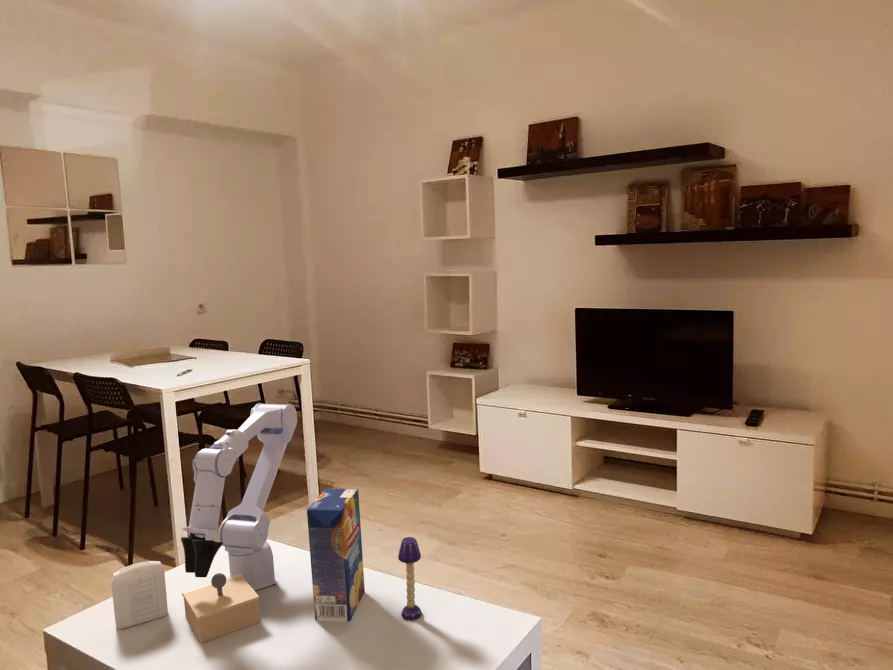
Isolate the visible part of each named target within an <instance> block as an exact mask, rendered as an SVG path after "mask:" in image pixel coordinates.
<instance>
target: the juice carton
mask: <svg viewBox="0 0 893 670" xmlns="http://www.w3.org/2000/svg"><path fill="white" fill-rule="evenodd" d="M359 497H360V495H359V488H324V489H323V490H322V491H321V492H320V494H319V495H318V496H317V497H316V498H315V500H314V501H313V502H312V503H311V505H310V506H308V508H307V509H306V515H307V516H306V517H307V529H308V530H307V531H308V542H309V543H308V545H309V555H310V569H311V570H310V571H311V584H312V594H313V608H314V620H315V621H316V620H317V621H320V622H323V621H324V622H343V621H344V622H345V623H347V622H349V623H350V622H351V621H352V619H353V617H354V615H355V613H356V612H357V609H358V607H359V605H360V603H361V601H362V599H363V597H364V594H365V593H366V589H365V574H364V559H363V557H364V556H363V543H362V528H361V513H360V511H361V510H360V498H359ZM346 621H347V622H346Z"/></svg>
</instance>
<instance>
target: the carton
mask: <svg viewBox="0 0 893 670" xmlns="http://www.w3.org/2000/svg"><path fill="white" fill-rule="evenodd" d="M183 602H184V604H183V605H184V614H185V615H184V616H185V619H186V620H187V622H188V623H189V626H190V627H191V628H192V630H193V632H194V633H195V635H196V637H197V639H198V641H199V642H200V643H201V644H202V643H205V642H208V641H211V640H214V639H216V638H219V637H222V636H225V635H227V634H230V633H233V632H235V631H238V630H240V629H245V628H248V627H250V626H252V625H255V624H258V623H260V622H261V615H260V607H259V606H260V603H259V600H256V601H253V602H250V603H247V604H244V605H241V606H238V607H235V608H232V609H229V610H226V611H224V612H221V613H218V614H215V615H212V616H209V617H206V618H203V619H200V620H197V618H196V617H195V615H194V613H193V612H192V610H191V608H190V607H189V605H188V603H187V602H186V600H185V599H184V598H183Z"/></svg>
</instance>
